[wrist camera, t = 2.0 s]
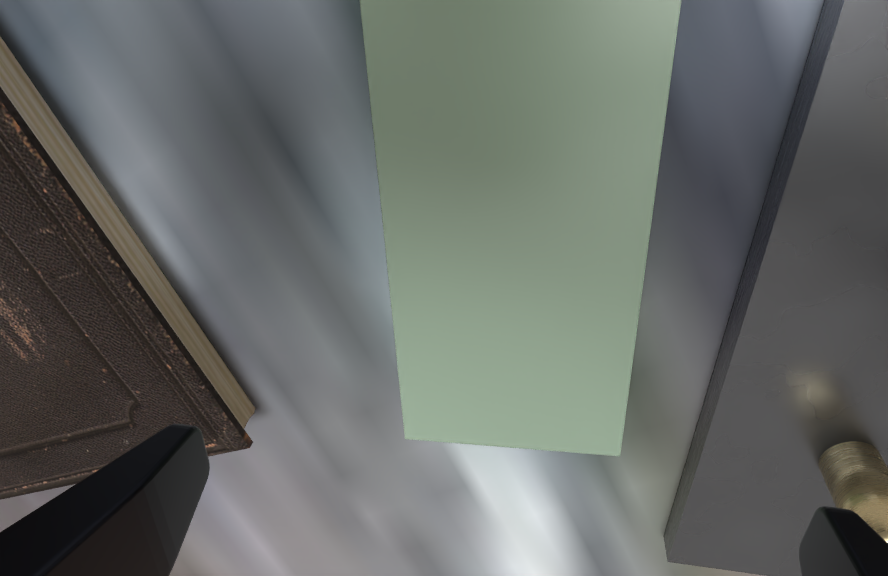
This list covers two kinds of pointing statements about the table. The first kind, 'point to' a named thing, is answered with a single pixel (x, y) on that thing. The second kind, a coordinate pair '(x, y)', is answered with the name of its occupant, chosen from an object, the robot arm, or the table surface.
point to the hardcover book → (87, 318)
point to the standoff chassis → (804, 327)
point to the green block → (517, 209)
